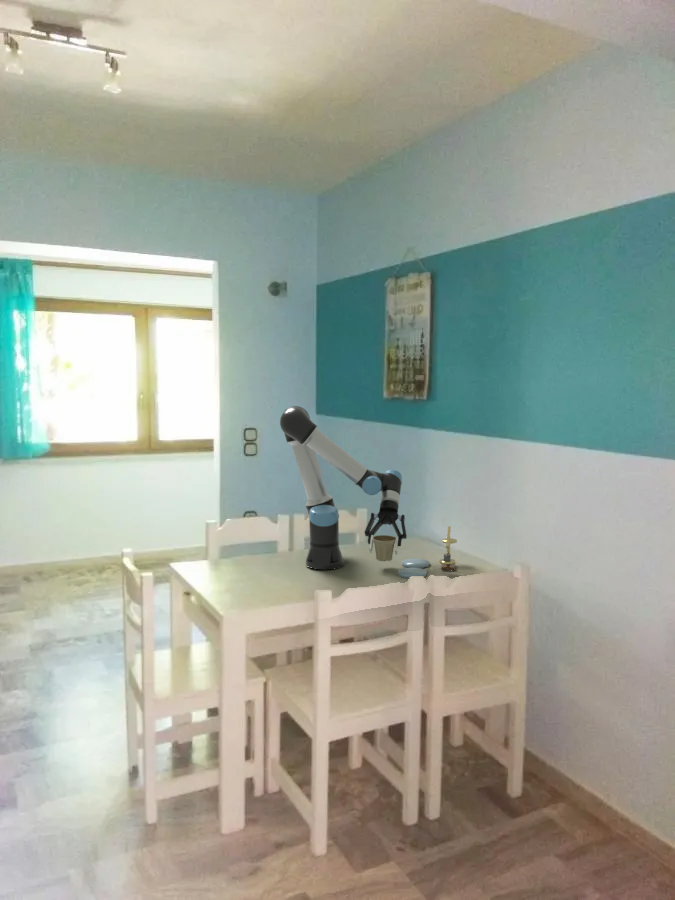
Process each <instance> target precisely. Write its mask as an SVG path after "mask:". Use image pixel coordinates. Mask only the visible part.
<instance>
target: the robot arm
mask: <svg viewBox="0 0 675 900" xmlns="http://www.w3.org/2000/svg"><path fill="white" fill-rule="evenodd" d="M279 424H280V425H279V426H280V429H281V430H282V432H283V433H284V437H285V440H286V443H288V445H290V446H291V447H292V451H293V455H294V457H295V461H296V463H297V467H298V471H299V475H300V478H301V481H302V484H303V488H304V491H305V495H306V498H307V501H306V503H305V507H306V510H307V514H308V519H309V520H308V521H309V549H308V552H307V555H306V559H305V566H306V565H307V566H309V567H312V568H316V569H333V570H335V569H334V568H337V569H340V568H342V567H343V566H344V557H343V554H342V551H341V549H340V543H339V542H340V539H339V538H340V533H339V532H340V531H339V530H340V529H339V526H340V525H339V524H340V521H339V518H340V513H339V510H338V508H337V507H336V505H335V503H334V500H333V496H332V495H330V494H329V493H328V491H327V487H326V484H325V481H324V478H323V474H322V471H321V467H320V464H319V460H318V457H317V455H318V456H320V457H321V458H322V459H323V460H325V462H327V463H329V464H330V465H331V466H333V468H335V469H336V470H337V471H339V472H340V473H341V474H342V475H343V476H345V477H347V479H349V480H350V481H352V482H353V484H354V486H358V487H359V488H360V489H362V491H363V492H364V494H366V495H369V496H376V495H377V494H380V492H381V496H380V503H379V504H380V505H379V512H378V513H373V512H371V513H370V519H369V521H368V523H367V526H366V527H365V530H364V536H365V537H368V538H367V544H368V545H369V548H368V549H369V554H372V553H373V547H374V540H373V537H374V536H375V534H376V533H377V532H378V530H379V529H380V528H381V527H382V526H383V525H390V526H391V525H392V528H393V529H394V531H395V534H396V536H395V537H396V540H395V544H394V554H395V555H398V551H399V547H401V546H402V540H404V539H407V530H406V525H405V520H406V517H405V514H402V515H400V514H399V513H398V512H399V504H400V499H401V497H400V496H401V490H402V484H403V481H402V479H403V477H402V474H401V472H400V471H399V470H397V469H389V470H386V471H385V472H384V473H383V472H378V471H374V470H370V469H368V468H367V467H366V466H364V465H363V464H362V463H360V462H359V461H358V460H356V459H355V458H354V457H353V456H352V455H350V454H349V453H348V452H346V451H345V450H344V449H343V448H341V447H340V446H338V444H336V443H335V442H334V441H333V440H331V439H330V438H329V437H327V436H326V434H324V433H323V432H322V431H320V430H319V428H318V427H319V426H318V425H316V424H315V422H313V421H312V420H311V417H310V414H309V412H308V410H306V409H305V408H304V407H302V406H298V405H293V406H289V407H287V408H286V409H285V410H284V411H283V412H282V414H281V416H280V420H279ZM377 518H378V520H377ZM375 521H377V522H376V523H375ZM396 521H399V522H400V525H401V530H402V533H401V531H400V529H399V527H398V524H397V522H396ZM374 523H375V525H374ZM373 525H374V526H373ZM307 566H306V567H307ZM341 566H342V567H341ZM339 567H340V568H339Z"/></svg>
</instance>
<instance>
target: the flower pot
mask: <svg viewBox="0 0 675 900" xmlns="http://www.w3.org/2000/svg"><path fill="white" fill-rule="evenodd" d="M396 537H397V536H393V535H387V534H384V535H383V534H381V535H374V536H373V540H374V541H373V545H374V551H375V558H376V559H375V560H377V561H379V562H386V561H388V562H391V561H392V560H393V555H394V550H395V545H396Z"/></svg>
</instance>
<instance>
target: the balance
mask: <svg viewBox="0 0 675 900" xmlns="http://www.w3.org/2000/svg"><path fill="white" fill-rule="evenodd" d="M451 528H452V526H451V525H450V526H447V535H446V538H442V539H441V543H443V544H445V548H446V553H444V554H443V558H440V559H439V564H441V566H440V567H441V569H440V570H452V571H451V572H455V570H454V569H455V568H456V560H455V559H452V558H451V556H452V555H451V544H457V543H458V540H457V539H456V538H451Z"/></svg>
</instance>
